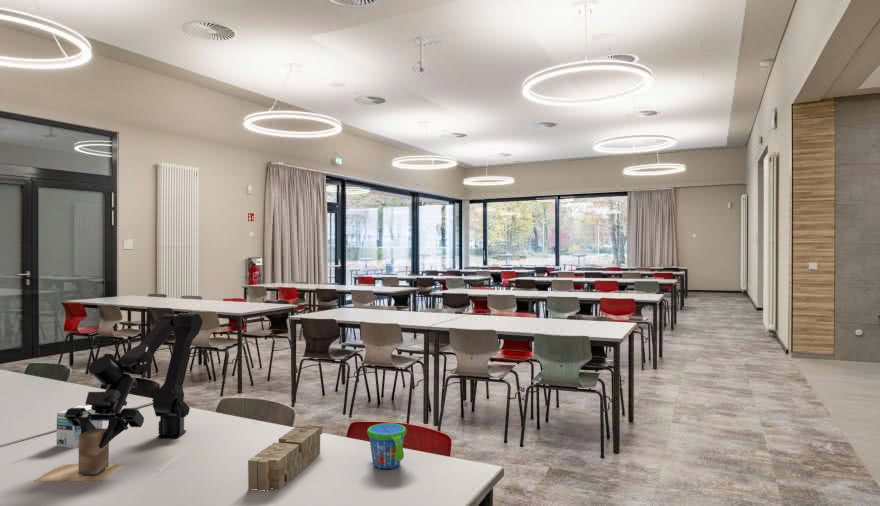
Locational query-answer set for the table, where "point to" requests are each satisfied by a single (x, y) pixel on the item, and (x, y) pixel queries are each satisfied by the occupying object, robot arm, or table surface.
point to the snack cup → (386, 444)
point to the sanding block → (92, 452)
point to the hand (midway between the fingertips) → (90, 447)
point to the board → (71, 473)
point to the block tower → (284, 458)
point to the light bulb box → (71, 429)
